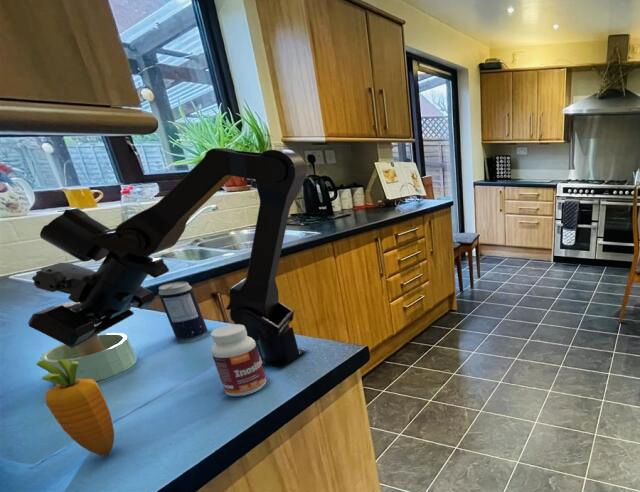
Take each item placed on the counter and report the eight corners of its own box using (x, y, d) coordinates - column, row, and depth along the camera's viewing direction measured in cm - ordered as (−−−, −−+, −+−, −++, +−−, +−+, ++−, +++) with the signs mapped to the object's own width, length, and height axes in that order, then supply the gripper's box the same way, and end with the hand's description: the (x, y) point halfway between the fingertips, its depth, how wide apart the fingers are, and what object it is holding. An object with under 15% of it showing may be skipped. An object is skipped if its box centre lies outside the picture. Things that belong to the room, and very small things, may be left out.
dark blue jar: (214, 331, 91) (197, 281, 86) (194, 343, 85) (174, 290, 81) (191, 330, 91) (173, 280, 86) (170, 342, 86) (148, 289, 81)
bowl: (153, 361, 78) (142, 335, 76) (85, 392, 69) (70, 365, 66) (111, 355, 81) (99, 330, 79) (39, 384, 71) (24, 357, 69)
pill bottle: (244, 400, 66) (224, 340, 61) (216, 394, 67) (194, 336, 63) (275, 380, 71) (258, 324, 66) (249, 375, 73) (230, 320, 68)
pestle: (125, 364, 75) (94, 300, 70) (95, 377, 71) (60, 310, 66) (106, 361, 77) (74, 298, 71) (76, 375, 72) (40, 308, 67)
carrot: (139, 447, 56) (91, 352, 50) (96, 472, 51) (37, 372, 45) (116, 439, 57) (67, 347, 51) (72, 463, 53) (13, 366, 47)
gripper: (110, 235, 74) (72, 295, 77) (8, 262, 57) (-36, 338, 60) (173, 273, 78) (134, 329, 81) (94, 309, 61) (49, 378, 64)
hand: (77, 341), depth 71 cm, fingers closed on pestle, 3 cm apart
